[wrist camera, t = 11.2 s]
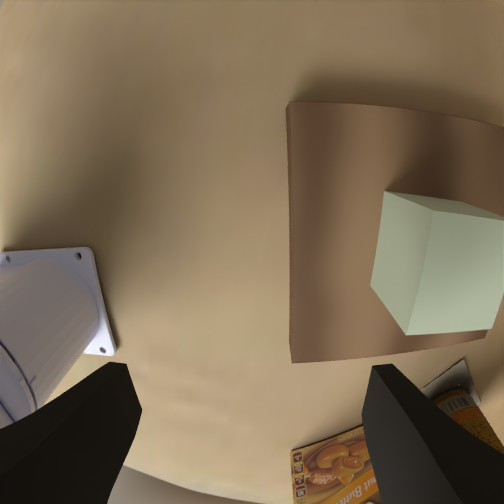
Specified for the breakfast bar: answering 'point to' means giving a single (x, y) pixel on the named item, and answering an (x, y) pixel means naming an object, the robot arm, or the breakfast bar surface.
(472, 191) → the walnut block
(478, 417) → the condiment
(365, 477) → the candy box
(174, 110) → the breakfast bar surface
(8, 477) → the robot arm
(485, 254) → the sage cube
